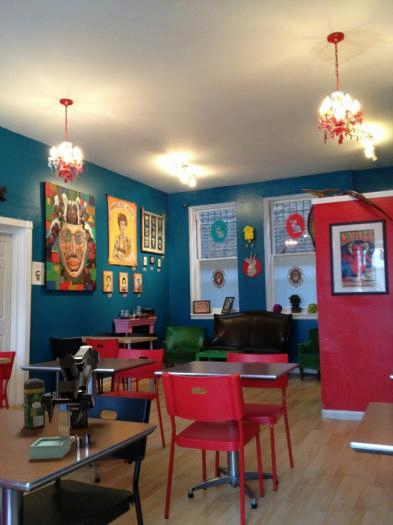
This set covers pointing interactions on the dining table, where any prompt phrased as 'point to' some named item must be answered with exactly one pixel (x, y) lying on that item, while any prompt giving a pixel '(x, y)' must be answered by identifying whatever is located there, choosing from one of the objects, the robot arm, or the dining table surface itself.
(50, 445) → the teal square tray
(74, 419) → the robot arm
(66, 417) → the tan boxy piece
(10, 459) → the dining table surface
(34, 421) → the coffee jar
